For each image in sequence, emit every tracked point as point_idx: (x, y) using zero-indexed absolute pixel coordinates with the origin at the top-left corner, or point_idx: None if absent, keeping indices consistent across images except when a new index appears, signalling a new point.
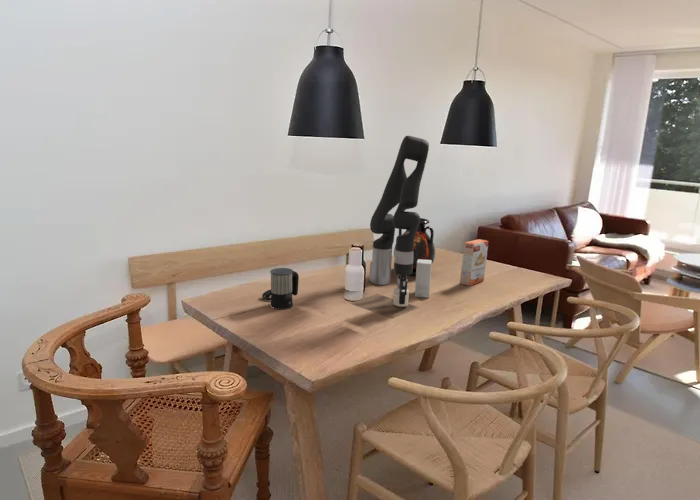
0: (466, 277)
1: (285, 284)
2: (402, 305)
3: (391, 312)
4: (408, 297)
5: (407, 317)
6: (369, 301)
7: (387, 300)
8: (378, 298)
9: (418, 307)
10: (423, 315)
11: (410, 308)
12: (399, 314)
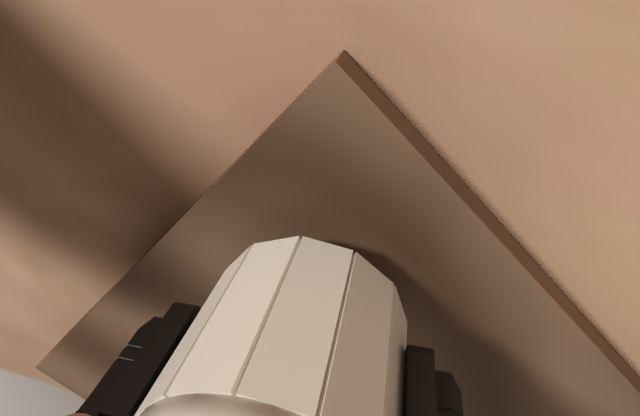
0: None
1: None
2: (406, 332)
3: (503, 404)
4: (332, 343)
5: (573, 251)
6: None
7: None
8: None
9: (346, 80)
10: (549, 18)
11: (388, 204)
12: (587, 363)
